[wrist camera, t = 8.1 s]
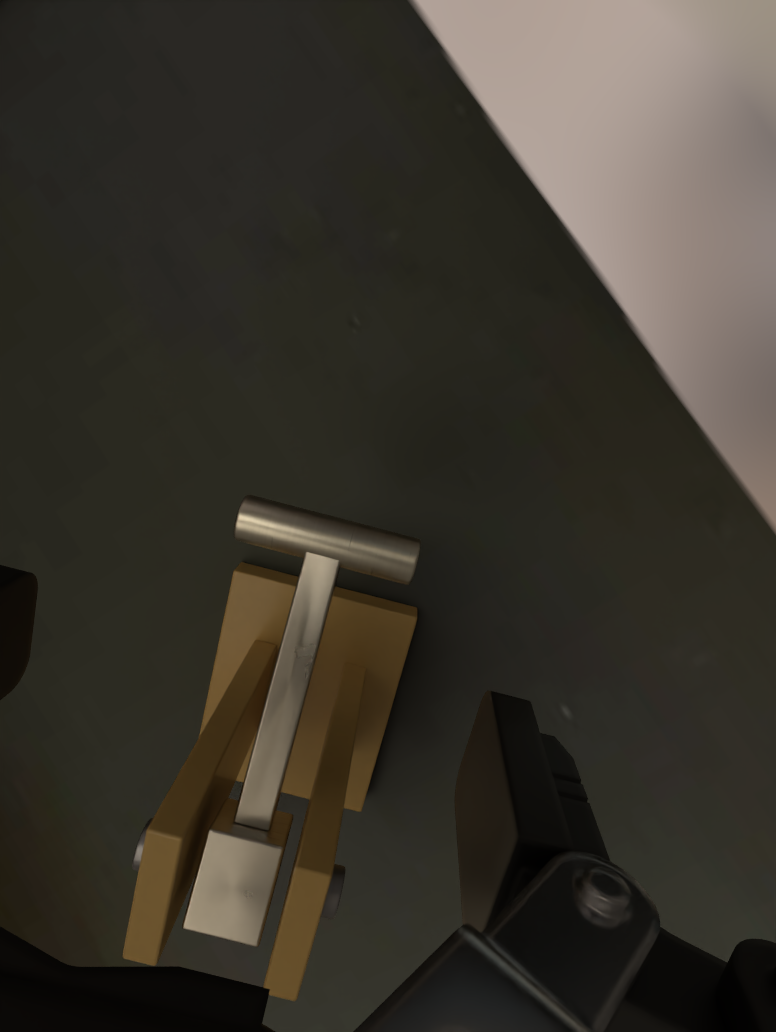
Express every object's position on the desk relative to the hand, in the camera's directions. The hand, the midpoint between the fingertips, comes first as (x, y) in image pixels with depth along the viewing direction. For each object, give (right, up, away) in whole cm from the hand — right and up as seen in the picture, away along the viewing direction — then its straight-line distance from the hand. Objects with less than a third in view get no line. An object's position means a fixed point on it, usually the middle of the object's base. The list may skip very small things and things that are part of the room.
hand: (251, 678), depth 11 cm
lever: (-1, -3, +9) cm, 10 cm away
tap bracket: (-1, -5, +19) cm, 19 cm away
